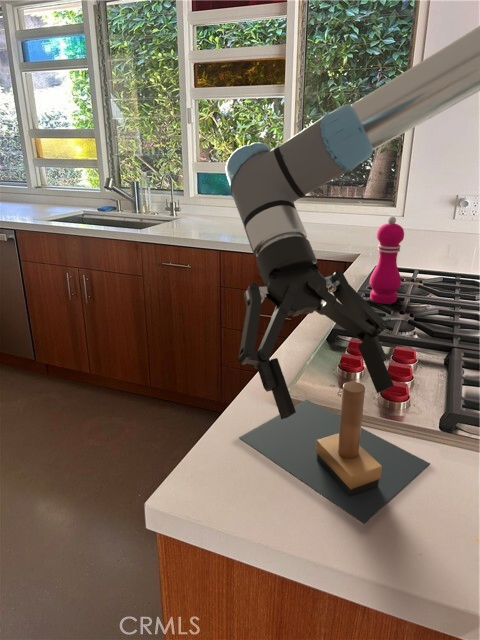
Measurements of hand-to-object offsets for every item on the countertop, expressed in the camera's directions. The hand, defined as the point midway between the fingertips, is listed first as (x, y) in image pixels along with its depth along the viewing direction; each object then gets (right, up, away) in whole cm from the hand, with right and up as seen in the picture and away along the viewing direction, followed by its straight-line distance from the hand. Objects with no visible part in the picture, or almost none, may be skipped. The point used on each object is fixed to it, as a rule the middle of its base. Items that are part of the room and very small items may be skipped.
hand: (339, 402), depth 55 cm
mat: (0, -7, +6) cm, 9 cm away
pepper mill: (+23, +15, +58) cm, 64 cm away
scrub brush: (+1, -9, +1) cm, 9 cm away
